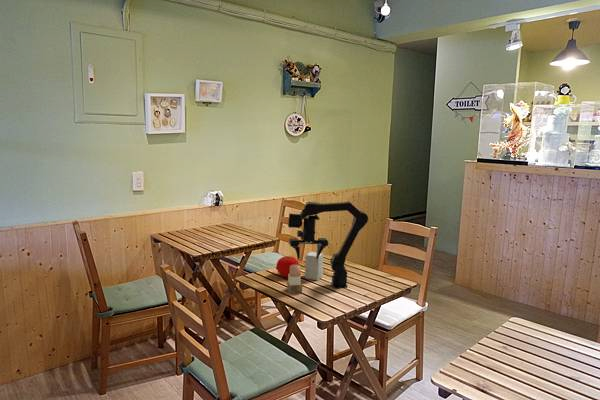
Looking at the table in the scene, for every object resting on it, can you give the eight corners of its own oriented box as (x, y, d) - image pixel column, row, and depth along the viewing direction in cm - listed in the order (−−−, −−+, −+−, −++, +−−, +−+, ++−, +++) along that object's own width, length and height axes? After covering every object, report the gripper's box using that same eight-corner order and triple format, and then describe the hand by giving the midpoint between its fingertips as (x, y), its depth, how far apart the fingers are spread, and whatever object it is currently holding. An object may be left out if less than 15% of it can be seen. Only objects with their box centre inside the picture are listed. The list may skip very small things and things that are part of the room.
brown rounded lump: (299, 273, 199) (299, 264, 199) (301, 276, 194) (301, 267, 194) (288, 273, 198) (289, 264, 197) (290, 277, 193) (291, 268, 193)
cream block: (298, 281, 200) (298, 273, 199) (300, 285, 195) (300, 276, 194) (288, 281, 199) (288, 273, 198) (289, 285, 194) (290, 277, 193)
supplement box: (322, 276, 220) (324, 253, 218) (317, 280, 213) (318, 256, 211) (310, 274, 223) (311, 251, 221) (304, 278, 216) (305, 254, 214)
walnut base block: (299, 289, 201) (299, 281, 200) (301, 293, 195) (302, 285, 195) (287, 289, 200) (287, 281, 199) (289, 294, 194) (289, 285, 193)
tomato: (299, 279, 213) (300, 259, 212) (275, 278, 213) (276, 258, 212) (299, 272, 224) (300, 253, 223) (276, 271, 225) (277, 252, 223)
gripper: (323, 224, 212) (321, 254, 215) (287, 224, 208) (286, 254, 211) (329, 229, 202) (327, 260, 204) (291, 229, 198) (290, 261, 200)
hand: (307, 259), depth 205 cm, fingers open, 9 cm apart
